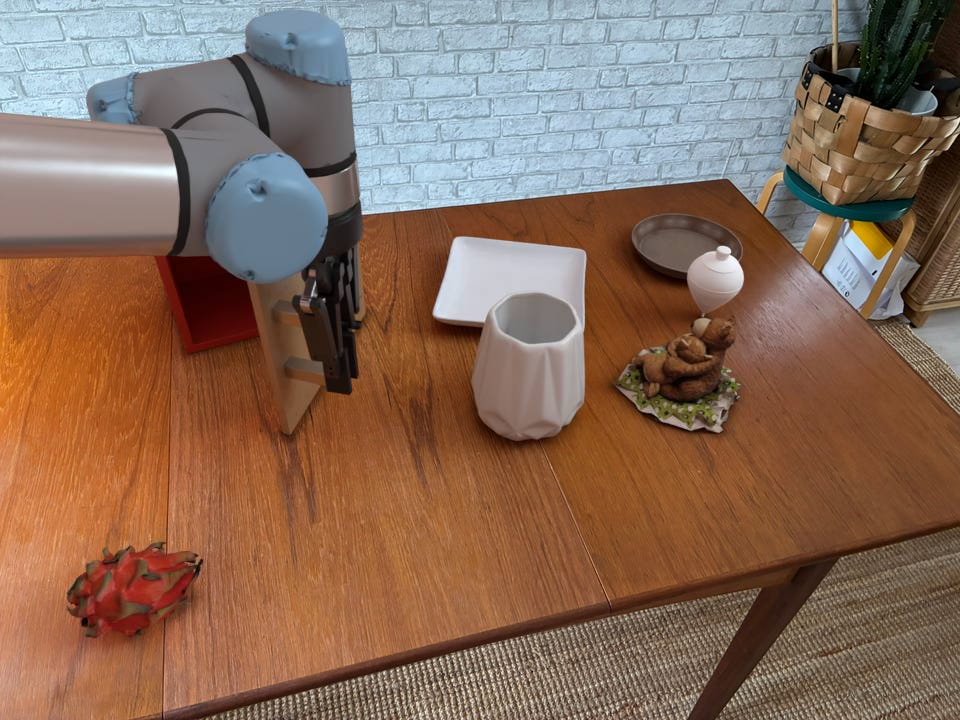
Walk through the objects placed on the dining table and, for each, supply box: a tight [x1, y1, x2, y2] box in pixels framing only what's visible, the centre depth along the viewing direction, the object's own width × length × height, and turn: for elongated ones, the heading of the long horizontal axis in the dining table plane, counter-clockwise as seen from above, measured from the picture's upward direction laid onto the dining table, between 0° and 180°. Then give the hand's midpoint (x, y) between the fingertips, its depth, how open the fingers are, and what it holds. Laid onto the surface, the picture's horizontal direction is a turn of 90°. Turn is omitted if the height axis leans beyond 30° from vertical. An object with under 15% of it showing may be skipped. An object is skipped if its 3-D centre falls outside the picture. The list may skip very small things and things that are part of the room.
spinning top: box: [686, 246, 745, 318], centre depth 100 cm, size 8×8×12 cm
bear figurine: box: [613, 314, 742, 434], centre depth 89 cm, size 14×15×12 cm
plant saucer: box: [631, 213, 744, 281], centre depth 115 cm, size 18×18×3 cm
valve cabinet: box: [153, 256, 260, 355], centre depth 96 cm, size 16×24×24 cm, turn 115°
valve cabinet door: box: [247, 241, 367, 436], centre depth 85 cm, size 7×24×24 cm, turn 165°
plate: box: [431, 236, 587, 333], centre depth 105 cm, size 21×21×3 cm
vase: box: [470, 291, 586, 442], centre depth 84 cm, size 14×14×15 cm
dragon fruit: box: [66, 541, 205, 640], centre depth 66 cm, size 8×8×12 cm
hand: (343, 382), depth 80 cm, fingers closed on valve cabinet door, 2 cm apart
